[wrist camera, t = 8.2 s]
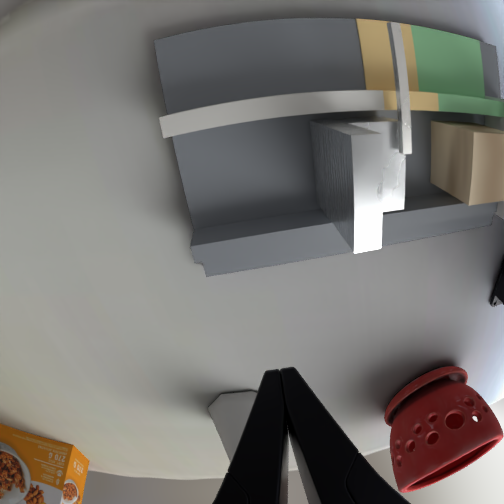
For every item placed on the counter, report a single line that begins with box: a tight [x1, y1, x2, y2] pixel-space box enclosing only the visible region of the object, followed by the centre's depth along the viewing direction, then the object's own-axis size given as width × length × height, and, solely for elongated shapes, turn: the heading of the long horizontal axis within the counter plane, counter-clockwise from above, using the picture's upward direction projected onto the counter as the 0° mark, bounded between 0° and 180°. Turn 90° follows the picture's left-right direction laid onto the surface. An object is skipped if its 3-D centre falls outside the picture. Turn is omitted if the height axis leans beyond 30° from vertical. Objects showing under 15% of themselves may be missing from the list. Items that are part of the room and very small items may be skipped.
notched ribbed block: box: [309, 22, 412, 253], centre depth 12 cm, size 4×10×6 cm, turn 9°
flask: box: [208, 391, 257, 463], centre depth 24 cm, size 7×7×10 cm
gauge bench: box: [154, 18, 504, 277], centre depth 13 cm, size 22×14×6 cm, turn 99°
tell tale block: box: [430, 121, 504, 206], centre depth 14 cm, size 4×4×4 cm
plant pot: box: [384, 366, 503, 493], centre depth 25 cm, size 13×13×12 cm
